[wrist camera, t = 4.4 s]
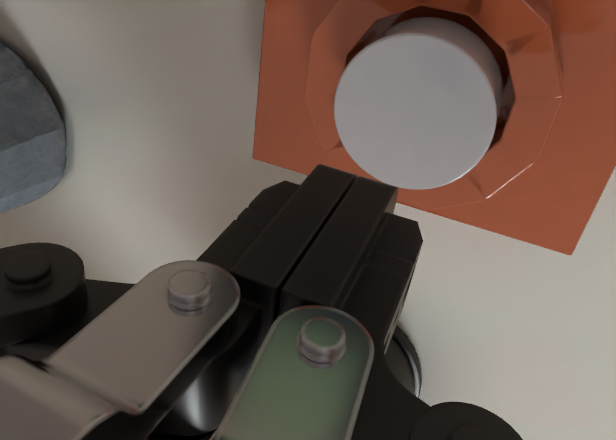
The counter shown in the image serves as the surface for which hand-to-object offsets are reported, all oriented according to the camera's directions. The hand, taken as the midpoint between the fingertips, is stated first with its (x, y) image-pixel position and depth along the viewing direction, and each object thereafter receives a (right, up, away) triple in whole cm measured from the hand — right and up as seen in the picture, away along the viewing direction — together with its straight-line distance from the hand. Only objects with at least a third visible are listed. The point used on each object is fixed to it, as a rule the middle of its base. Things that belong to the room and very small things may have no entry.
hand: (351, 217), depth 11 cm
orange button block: (+4, +6, +10) cm, 12 cm away
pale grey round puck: (+3, +4, +6) cm, 8 cm away
